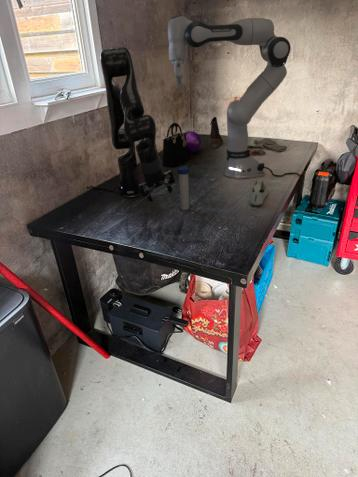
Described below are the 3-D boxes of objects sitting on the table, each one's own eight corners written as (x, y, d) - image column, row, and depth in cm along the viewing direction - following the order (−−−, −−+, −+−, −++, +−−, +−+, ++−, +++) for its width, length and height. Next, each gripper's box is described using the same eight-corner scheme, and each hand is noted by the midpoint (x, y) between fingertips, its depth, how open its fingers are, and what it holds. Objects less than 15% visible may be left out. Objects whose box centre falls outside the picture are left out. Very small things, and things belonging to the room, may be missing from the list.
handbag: (173, 167, 206) (170, 126, 194) (161, 166, 211) (158, 125, 198) (190, 158, 221) (188, 120, 209) (178, 157, 225) (176, 119, 213)
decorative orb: (204, 151, 235) (204, 129, 228) (194, 156, 225) (193, 134, 217) (186, 149, 243) (186, 128, 235) (175, 154, 232) (174, 132, 224)
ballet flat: (269, 188, 169) (270, 173, 165) (265, 208, 149) (266, 191, 145) (252, 187, 171) (253, 172, 167) (246, 206, 151) (247, 190, 147)
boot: (223, 140, 259) (224, 113, 249) (220, 148, 239) (221, 119, 229) (212, 140, 261) (212, 113, 251) (208, 148, 241) (208, 120, 231)
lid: (189, 170, 147) (189, 166, 146) (189, 174, 143) (188, 169, 142) (178, 171, 148) (177, 166, 147) (177, 174, 143) (177, 170, 142)
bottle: (189, 206, 156) (188, 167, 146) (189, 209, 152) (187, 170, 143) (181, 206, 156) (178, 167, 146) (180, 210, 152) (178, 170, 143)
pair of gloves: (252, 157, 216) (252, 149, 214) (231, 148, 237) (231, 141, 234) (288, 150, 226) (289, 142, 223) (266, 142, 247) (266, 135, 244)
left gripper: (164, 152, 124) (172, 183, 137) (130, 168, 122) (141, 198, 135) (172, 163, 120) (179, 194, 133) (137, 180, 118) (148, 209, 131)
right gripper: (185, 55, 152) (186, 88, 159) (184, 55, 169) (185, 84, 176) (171, 56, 152) (173, 89, 159) (171, 55, 170) (173, 85, 176)
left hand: (160, 196), depth 134 cm, fingers open, 8 cm apart
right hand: (179, 86), depth 168 cm, fingers open, 8 cm apart
